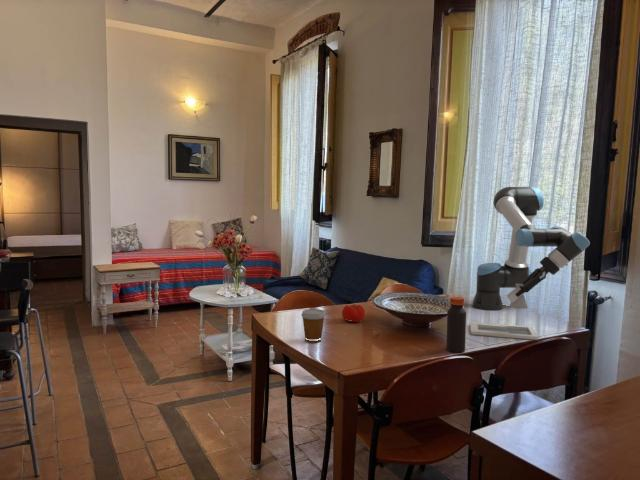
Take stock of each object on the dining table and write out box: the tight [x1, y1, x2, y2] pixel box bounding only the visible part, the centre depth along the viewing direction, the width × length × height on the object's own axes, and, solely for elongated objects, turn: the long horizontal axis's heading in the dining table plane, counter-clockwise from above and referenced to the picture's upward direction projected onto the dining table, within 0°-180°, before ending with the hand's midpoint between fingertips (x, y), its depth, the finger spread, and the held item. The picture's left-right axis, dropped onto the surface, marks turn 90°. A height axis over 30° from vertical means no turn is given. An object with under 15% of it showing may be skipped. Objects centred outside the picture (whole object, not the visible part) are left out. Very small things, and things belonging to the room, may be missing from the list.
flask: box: [509, 284, 529, 310], centre depth 196 cm, size 7×7×10 cm
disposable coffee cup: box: [301, 308, 326, 344], centre depth 184 cm, size 10×10×12 cm
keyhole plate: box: [469, 321, 540, 341], centre depth 198 cm, size 16×26×2 cm, turn 74°
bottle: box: [445, 296, 467, 354], centre depth 173 cm, size 7×7×20 cm
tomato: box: [341, 303, 366, 323], centre depth 215 cm, size 11×11×8 cm
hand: (509, 299), depth 197 cm, fingers closed on flask, 4 cm apart
